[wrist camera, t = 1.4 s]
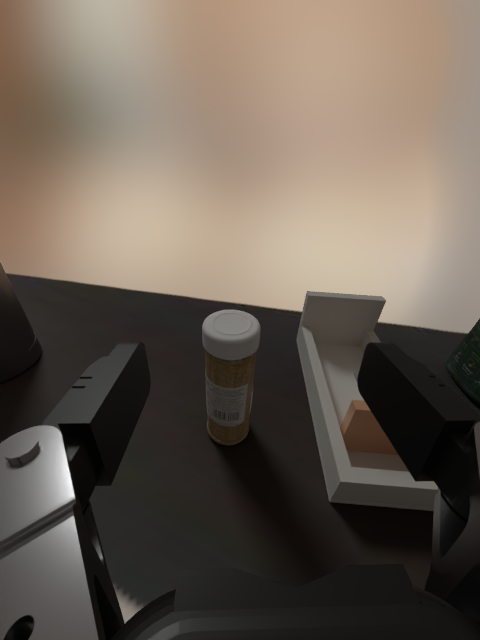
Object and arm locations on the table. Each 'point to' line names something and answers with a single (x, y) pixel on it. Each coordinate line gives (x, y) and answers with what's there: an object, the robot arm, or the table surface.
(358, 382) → the robot arm
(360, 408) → the pusher
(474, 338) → the coffee jar
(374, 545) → the table surface
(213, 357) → the sprinkles bottle
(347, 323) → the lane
